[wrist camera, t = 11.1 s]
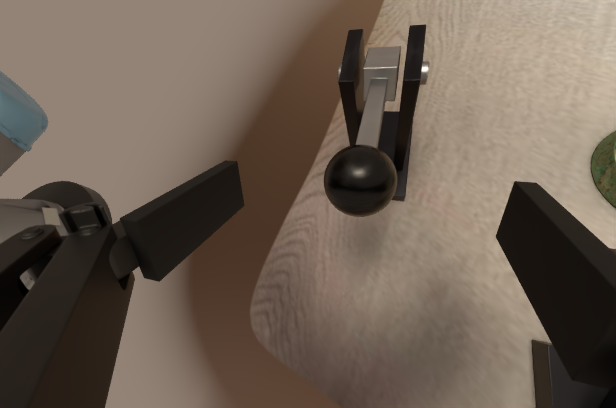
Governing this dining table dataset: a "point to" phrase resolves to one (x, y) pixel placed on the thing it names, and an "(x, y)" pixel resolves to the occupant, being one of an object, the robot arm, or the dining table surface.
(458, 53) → the dining table surface
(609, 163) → the decorative artifact
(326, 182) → the lever
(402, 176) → the switch bracket
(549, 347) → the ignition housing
